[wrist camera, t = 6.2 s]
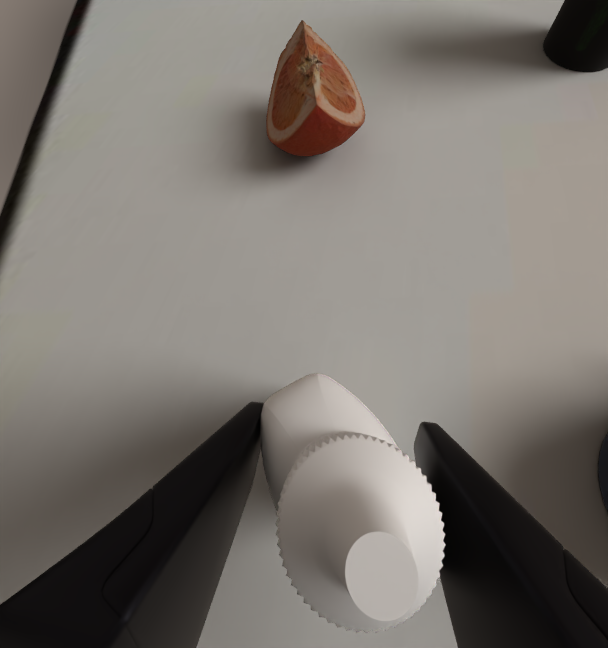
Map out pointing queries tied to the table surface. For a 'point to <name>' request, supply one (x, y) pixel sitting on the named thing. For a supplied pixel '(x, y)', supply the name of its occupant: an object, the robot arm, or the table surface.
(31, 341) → the table surface
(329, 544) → the eye dropper bottle
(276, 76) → the fruit slice
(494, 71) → the table surface
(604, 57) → the cup
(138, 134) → the table surface
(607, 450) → the blue mug
